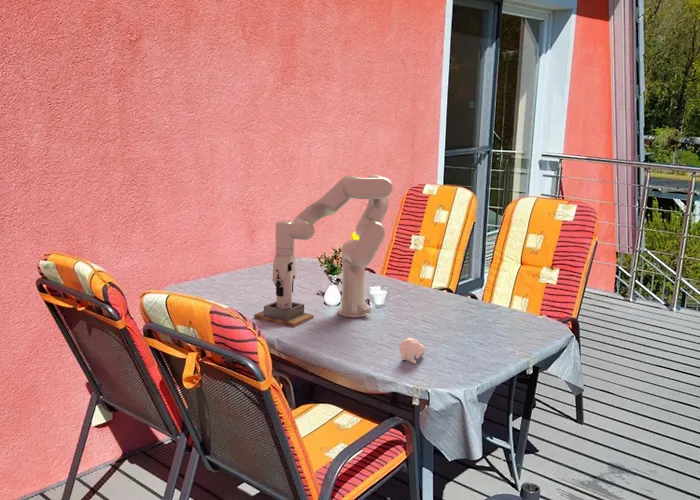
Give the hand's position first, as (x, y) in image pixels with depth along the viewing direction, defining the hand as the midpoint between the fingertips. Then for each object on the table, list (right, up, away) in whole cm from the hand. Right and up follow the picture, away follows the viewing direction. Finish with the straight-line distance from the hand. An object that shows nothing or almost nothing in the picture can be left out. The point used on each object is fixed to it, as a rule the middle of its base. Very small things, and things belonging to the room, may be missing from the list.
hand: (284, 293), depth 276 cm
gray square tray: (0, -9, +2) cm, 9 cm away
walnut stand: (-1, -10, +2) cm, 10 cm away
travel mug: (0, -7, +2) cm, 7 cm away
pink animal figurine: (+49, -21, -38) cm, 66 cm away
